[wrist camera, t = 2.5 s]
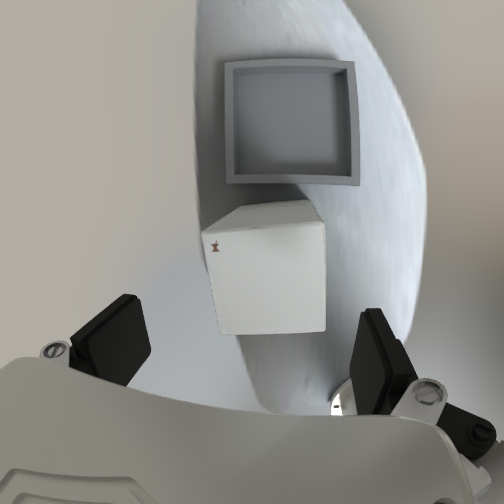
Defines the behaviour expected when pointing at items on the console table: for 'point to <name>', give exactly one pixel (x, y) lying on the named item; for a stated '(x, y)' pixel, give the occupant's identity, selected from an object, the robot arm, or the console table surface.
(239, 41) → the console table surface
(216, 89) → the console table surface
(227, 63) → the holder tray
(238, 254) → the supplement box
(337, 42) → the console table surface
